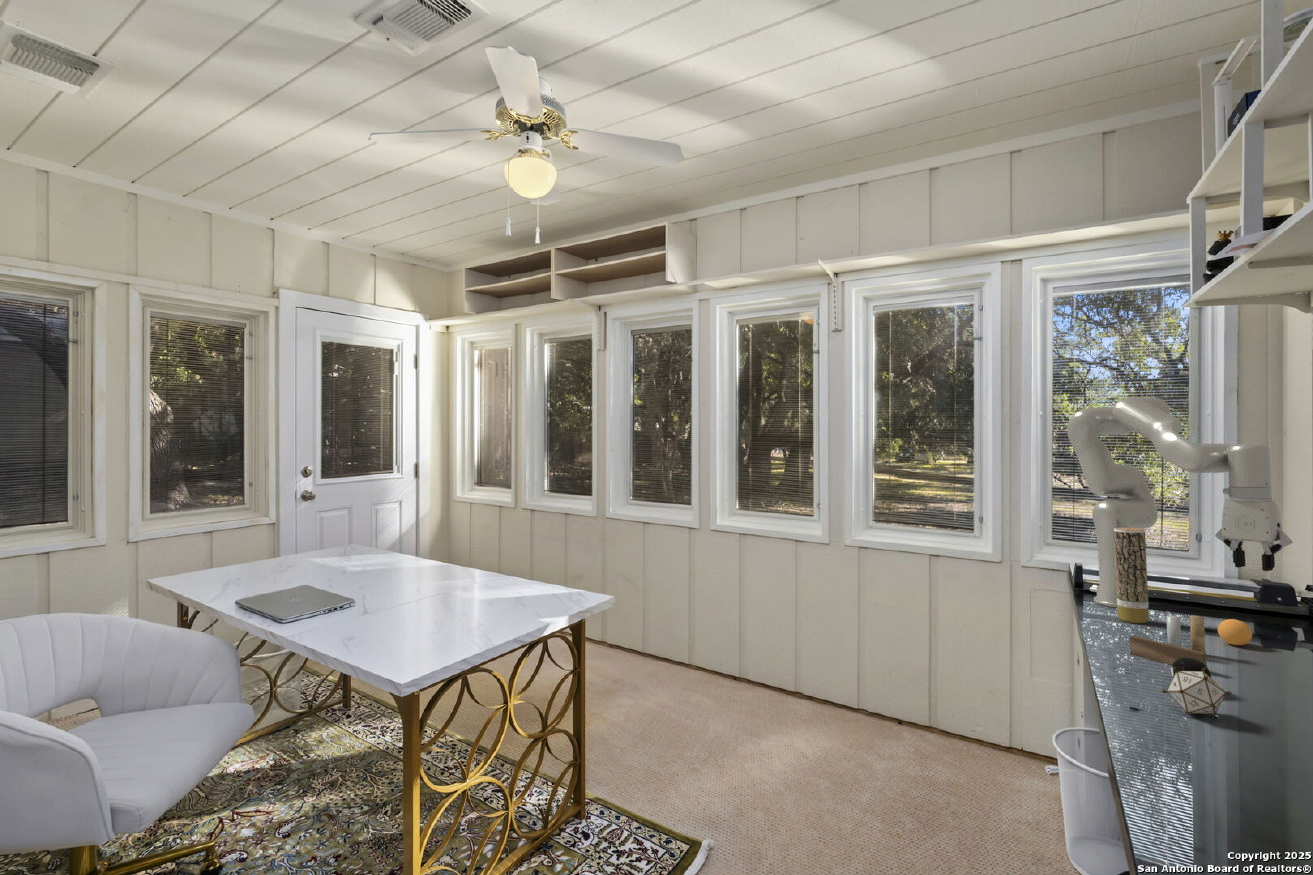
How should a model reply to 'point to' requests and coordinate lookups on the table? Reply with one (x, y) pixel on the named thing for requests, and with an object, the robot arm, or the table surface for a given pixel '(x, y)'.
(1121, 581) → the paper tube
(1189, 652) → the brown wooden plank
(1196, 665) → the billiard ball
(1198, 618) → the maple pin
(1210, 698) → the game die
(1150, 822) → the table surface
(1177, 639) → the grey pin
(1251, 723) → the table surface
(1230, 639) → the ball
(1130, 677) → the table surface
